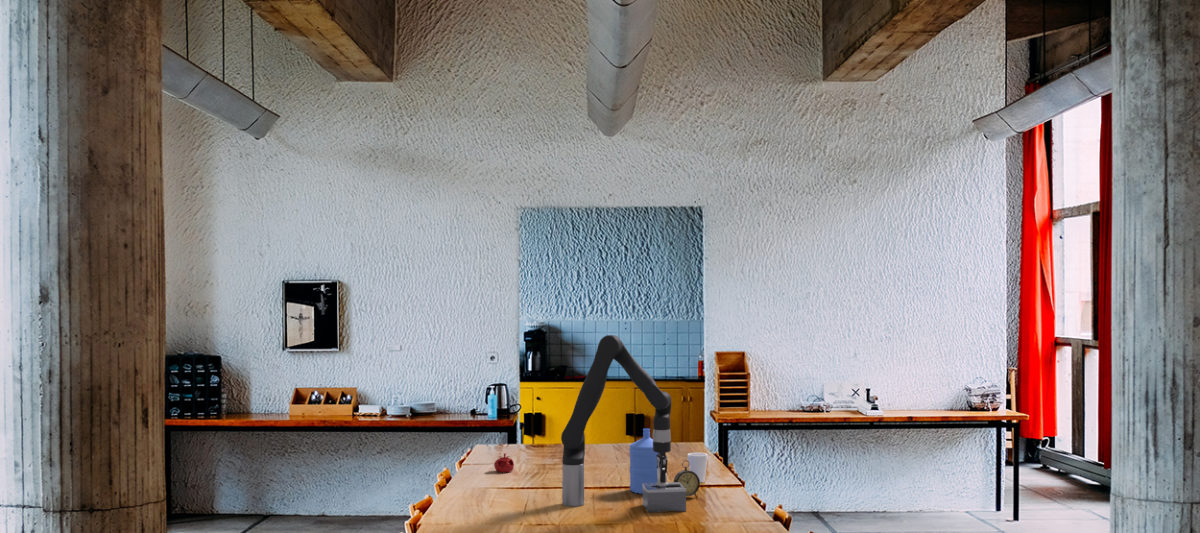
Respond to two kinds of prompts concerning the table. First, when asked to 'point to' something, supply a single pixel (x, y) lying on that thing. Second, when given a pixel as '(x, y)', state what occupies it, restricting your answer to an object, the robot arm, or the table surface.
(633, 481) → the water jug
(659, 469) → the peg
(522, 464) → the table surface
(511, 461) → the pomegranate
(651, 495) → the keyhole stand
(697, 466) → the foam cup
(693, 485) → the alarm clock
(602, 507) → the table surface
